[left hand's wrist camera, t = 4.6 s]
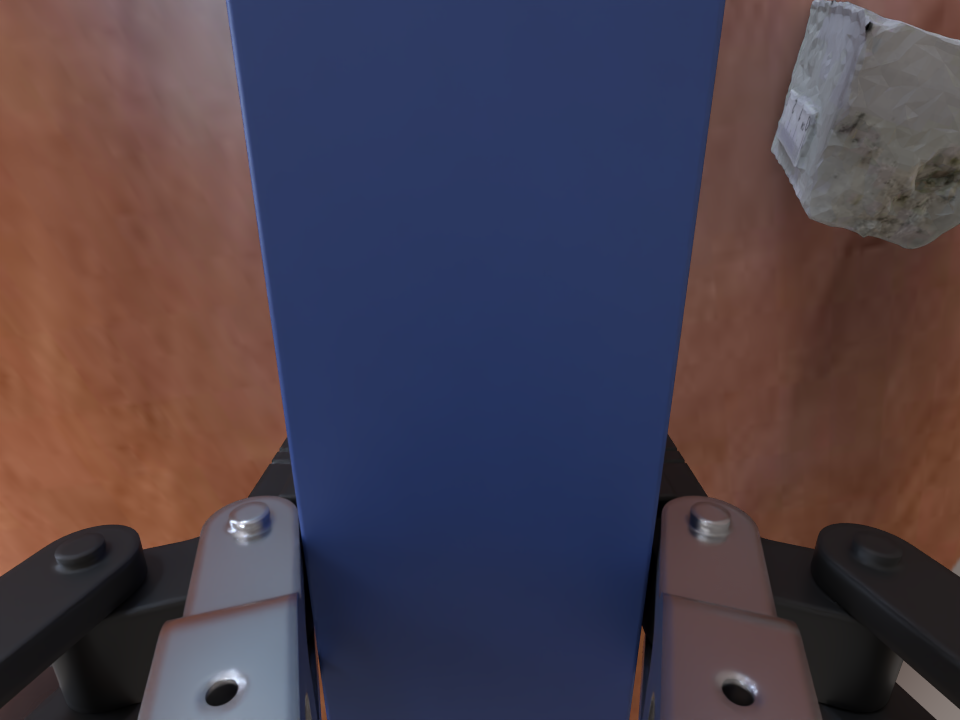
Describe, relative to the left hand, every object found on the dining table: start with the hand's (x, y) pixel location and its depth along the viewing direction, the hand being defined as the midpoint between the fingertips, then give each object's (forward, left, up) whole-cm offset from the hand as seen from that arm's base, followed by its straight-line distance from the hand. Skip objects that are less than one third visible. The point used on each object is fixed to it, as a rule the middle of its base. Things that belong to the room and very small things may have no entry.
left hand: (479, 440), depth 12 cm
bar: (+9, 0, -4) cm, 10 cm away
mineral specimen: (+7, -13, -13) cm, 19 cm away
